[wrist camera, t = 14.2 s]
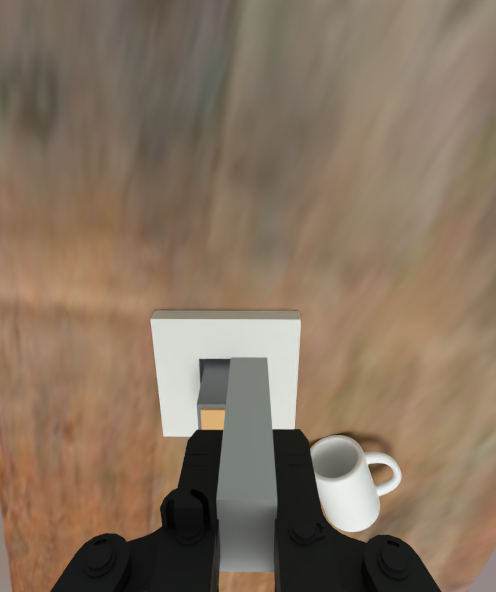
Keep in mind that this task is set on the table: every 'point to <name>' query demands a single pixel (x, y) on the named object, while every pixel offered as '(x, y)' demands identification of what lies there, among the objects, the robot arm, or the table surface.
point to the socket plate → (222, 345)
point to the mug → (350, 481)
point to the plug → (213, 394)
